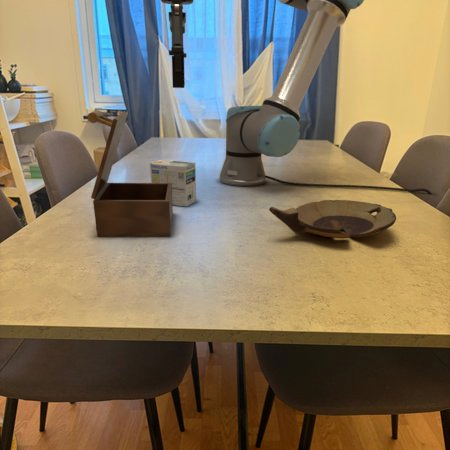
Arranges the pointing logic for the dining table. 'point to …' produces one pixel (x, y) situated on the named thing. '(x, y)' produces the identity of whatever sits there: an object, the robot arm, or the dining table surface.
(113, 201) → the chest
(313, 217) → the oil lamp
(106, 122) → the lid
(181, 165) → the light bulb box
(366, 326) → the dining table surface
